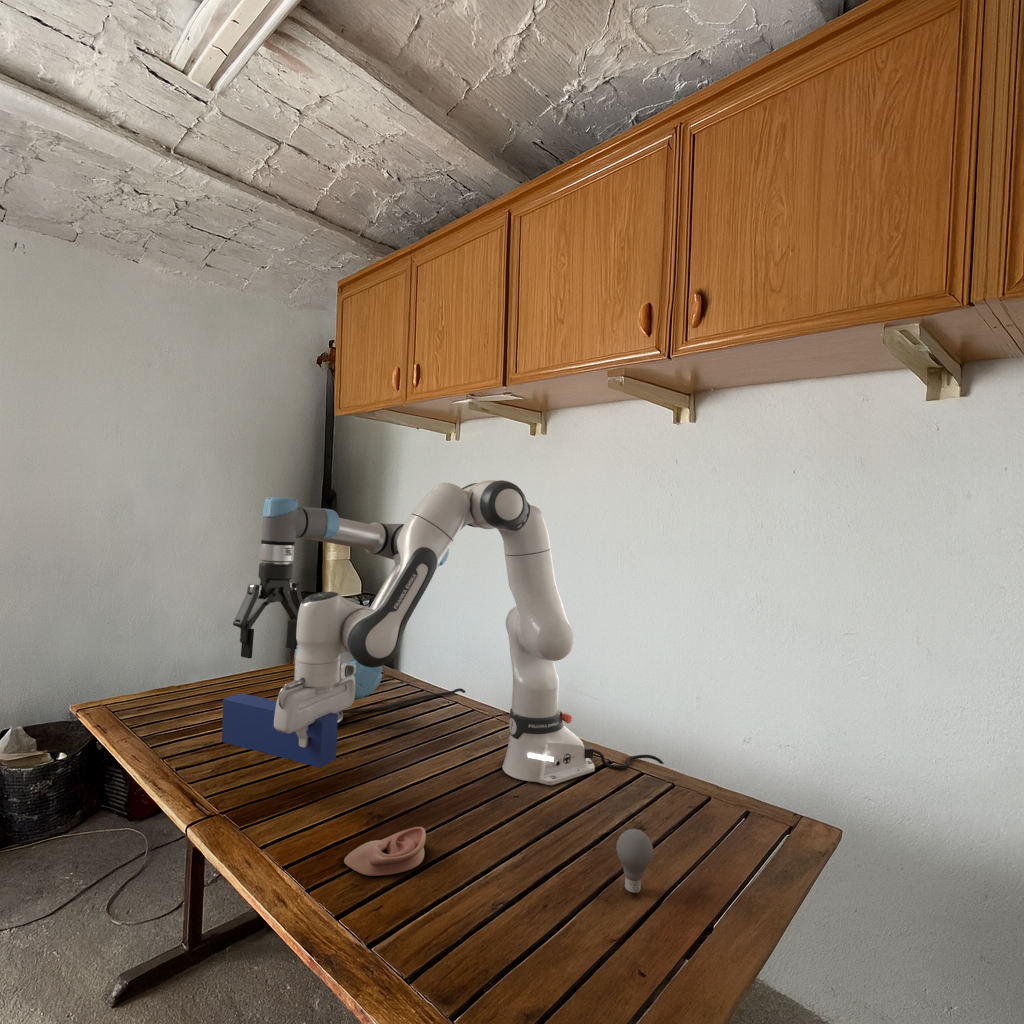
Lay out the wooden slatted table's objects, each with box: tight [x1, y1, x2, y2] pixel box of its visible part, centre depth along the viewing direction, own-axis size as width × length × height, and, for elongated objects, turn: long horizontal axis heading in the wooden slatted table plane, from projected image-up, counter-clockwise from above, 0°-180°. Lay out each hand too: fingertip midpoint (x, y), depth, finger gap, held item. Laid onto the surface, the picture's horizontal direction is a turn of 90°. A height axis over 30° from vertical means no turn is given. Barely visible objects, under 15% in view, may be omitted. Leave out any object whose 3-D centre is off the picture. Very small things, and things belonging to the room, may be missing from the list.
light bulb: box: [615, 828, 654, 894], centre depth 106 cm, size 6×6×10 cm
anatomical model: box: [343, 826, 427, 877], centre depth 112 cm, size 13×4×12 cm
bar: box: [221, 692, 338, 769], centre depth 132 cm, size 27×5×9 cm, turn 66°
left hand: (269, 652), depth 149 cm, fingers open, 13 cm apart
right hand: (315, 740), depth 128 cm, fingers closed on bar, 5 cm apart
